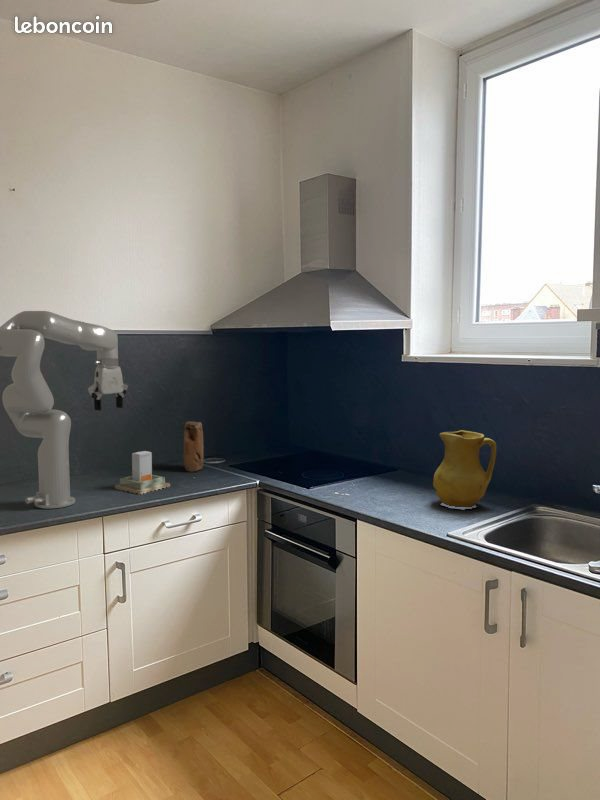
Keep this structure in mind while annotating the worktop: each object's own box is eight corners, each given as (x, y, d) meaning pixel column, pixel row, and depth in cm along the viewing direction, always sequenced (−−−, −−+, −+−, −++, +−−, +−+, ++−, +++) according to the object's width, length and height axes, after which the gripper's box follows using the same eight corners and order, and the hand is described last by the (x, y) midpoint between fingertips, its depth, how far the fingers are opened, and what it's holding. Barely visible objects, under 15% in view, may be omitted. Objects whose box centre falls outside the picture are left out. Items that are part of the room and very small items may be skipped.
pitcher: (445, 494, 222) (450, 425, 218) (496, 506, 210) (502, 433, 206) (422, 506, 209) (426, 432, 205) (475, 519, 197) (481, 442, 193)
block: (187, 466, 267) (186, 420, 265) (204, 467, 267) (204, 420, 265) (182, 472, 257) (181, 424, 254) (200, 472, 256) (199, 424, 254)
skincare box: (139, 487, 227) (139, 454, 226) (132, 485, 230) (131, 453, 229) (152, 483, 232) (152, 451, 231) (145, 482, 235) (144, 450, 233)
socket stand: (140, 494, 221) (140, 484, 221) (114, 488, 230) (114, 478, 229) (170, 486, 233) (169, 477, 232) (144, 481, 241) (144, 471, 241)
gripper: (94, 364, 225) (95, 412, 227) (132, 362, 239) (133, 407, 240) (81, 364, 229) (83, 410, 231) (120, 362, 243) (121, 406, 245)
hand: (109, 408), depth 236 cm, fingers open, 9 cm apart
